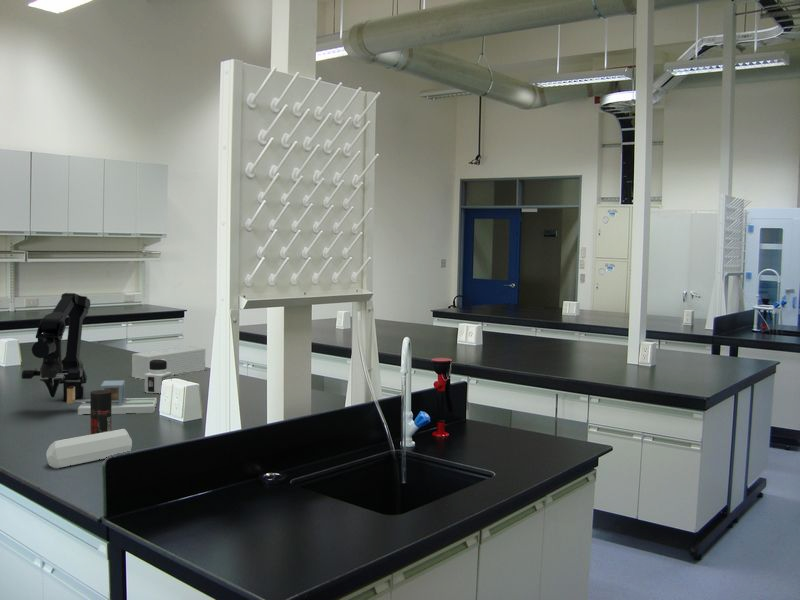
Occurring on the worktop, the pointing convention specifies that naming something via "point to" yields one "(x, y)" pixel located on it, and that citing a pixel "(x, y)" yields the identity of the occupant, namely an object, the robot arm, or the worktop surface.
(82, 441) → the crystal
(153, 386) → the container
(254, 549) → the worktop surface
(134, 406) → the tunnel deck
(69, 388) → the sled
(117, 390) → the block
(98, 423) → the deodorant
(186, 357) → the long grey rectangular block
